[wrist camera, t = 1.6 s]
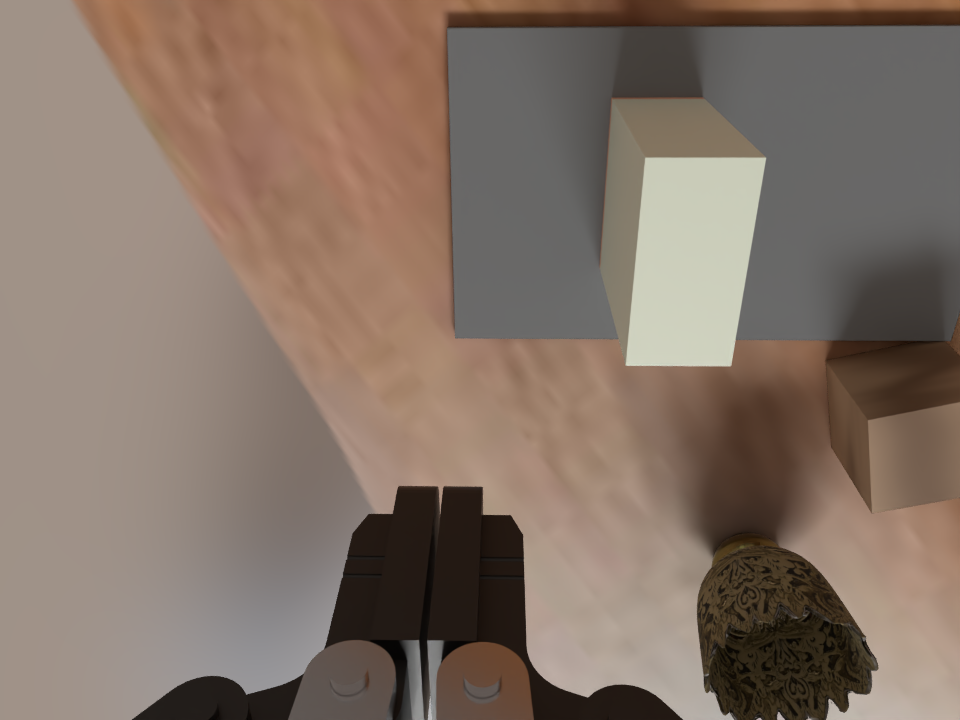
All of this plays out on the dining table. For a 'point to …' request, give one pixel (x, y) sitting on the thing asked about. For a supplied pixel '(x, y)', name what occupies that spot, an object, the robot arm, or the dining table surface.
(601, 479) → the dining table surface
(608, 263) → the cream block
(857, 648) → the filigree lamp shade
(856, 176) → the mat
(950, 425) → the walnut cube
